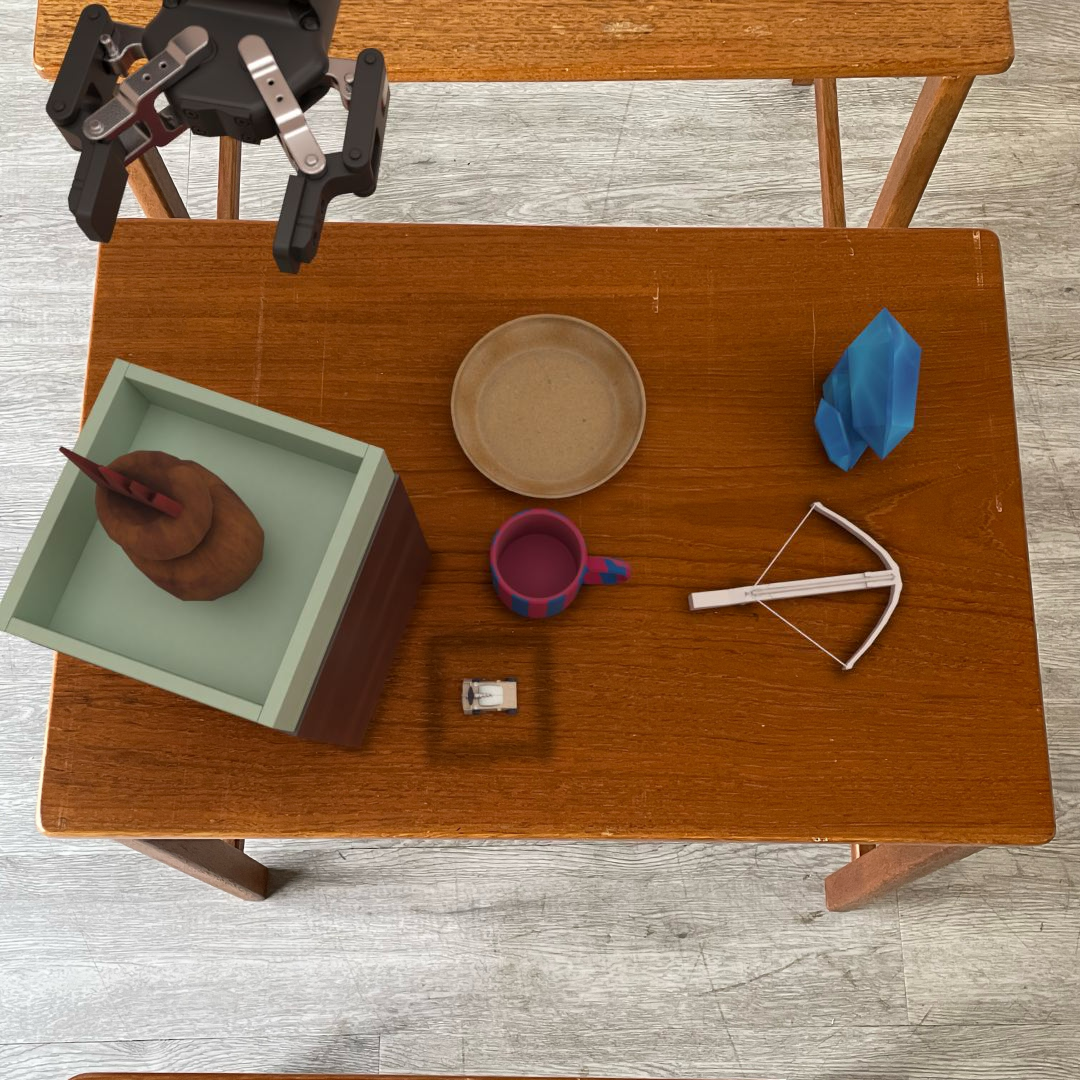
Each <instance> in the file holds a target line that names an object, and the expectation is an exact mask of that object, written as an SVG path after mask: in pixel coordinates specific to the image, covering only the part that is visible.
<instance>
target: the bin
mask: <svg viewBox="0 0 1080 1080" xmlns="http://www.w3.org/2000/svg"><path fill="white" fill-rule="evenodd" d="M102 384H103V385H102V386H101V389H100V391H99V393H98V395H97V398H96V399H95V402H94V404H93V406H92V408H91V410H90V412H89V414H88V416H87V418H86V421H85V422H84V425H83V426H82V429H81V431H80V433H79V435H78V437H77V440H76V443H75V444H74V446H73V448H72V450H71V451H73V452H75V453H77V454H79V455H80V456H82V457H84V458H86V459H88V460H90V461H92V462H94V463H96V464H98V465H103V466H105V467H106V466H108V465H109V464H110V463H111V462H113V461H114V460H115V459H117V458H118V457H119V456H122V455H125V454H128V453H131V452H134V451H138V450H147V451H162V452H165V453H167V454H170V455H173V456H175V457H178V458H179V459H180V460H192V461H194V462H196V463H199V464H200V465H202V466H203V467H205V468H206V469H208V470H209V471H211V472H213V473H214V474H216V475H217V476H218V477H219V478H221V479H222V480H223V481H224V482H225V483H226V484H227V485H228V486H229V487H230V488H231V489H232V490H233V491H234V492H235V493H236V494H237V495H238V496H239V497H240V498H241V499H242V501H243V502H244V503H245V504H246V505H247V507H248V508H249V509H250V510H251V511H252V513H253V514H254V516H255V518H256V519H257V521H258V523H259V524H260V526H261V528H262V529H263V531H264V537H265V539H264V548H263V558H262V561H261V562H260V564H259V565H258V567H257V568H256V570H255V572H254V573H253V575H252V576H251V578H250V579H249V580H247V581H246V582H245V583H244V584H243V585H242V586H241V587H240V588H239V589H238V590H237V591H235V592H232V593H230V594H228V595H225V596H223V597H221V598H218V599H216V600H214V601H182V600H180V599H178V598H176V597H175V596H173V595H171V594H170V593H168V592H166V591H165V590H163V589H161V588H160V587H158V586H157V585H155V584H154V583H153V582H152V581H151V580H150V579H149V578H148V577H146V576H145V575H144V574H143V573H142V572H141V571H140V570H139V569H138V568H137V567H135V565H134V564H133V563H132V561H131V560H130V559H129V557H128V556H127V555H126V553H125V552H124V551H123V549H122V547H121V546H119V545H118V544H117V543H115V542H114V541H113V540H111V539H110V538H109V536H108V535H107V533H106V531H105V530H104V528H103V526H102V525H101V523H100V521H99V519H98V515H97V511H96V506H95V494H96V485H97V484H96V483H95V482H94V481H93V480H92V479H90V478H89V477H88V476H87V475H86V474H85V473H84V472H82V471H81V470H80V469H79V468H78V467H77V466H76V465H75V464H74V463H72V462H71V461H70V460H69V459H68V458H67V461H66V463H65V465H64V467H63V469H62V472H61V474H60V475H59V478H58V479H57V482H56V484H55V487H54V488H53V490H52V493H51V495H50V496H49V498H48V501H47V504H46V505H45V507H44V509H43V512H42V513H41V516H40V518H39V520H38V523H37V524H36V526H35V528H34V531H33V533H32V535H31V537H30V539H29V541H28V543H27V546H26V547H25V550H24V552H23V554H22V556H21V558H20V560H19V562H18V565H17V567H16V570H15V571H14V573H13V575H12V578H11V580H10V582H9V584H8V586H7V588H6V590H5V591H4V592H5V593H4V594H3V596H2V598H1V601H0V632H3V633H6V634H9V635H12V636H14V637H17V638H20V639H23V640H26V641H28V642H30V641H31V642H30V643H32V642H34V643H33V644H35V643H37V644H36V645H38V644H39V645H38V646H40V645H42V646H41V647H43V646H45V647H44V648H46V647H48V648H47V649H49V648H51V649H53V650H52V651H54V650H56V651H55V652H57V651H59V652H58V653H60V652H62V653H61V654H63V653H65V654H67V655H66V656H68V655H70V656H69V657H71V656H73V657H72V658H74V657H76V658H75V659H77V658H78V659H77V660H79V659H81V660H80V661H82V660H84V661H83V662H85V661H87V662H86V663H88V662H90V663H89V664H91V663H92V664H91V665H93V664H95V665H94V666H96V665H98V666H97V667H99V666H101V667H100V668H102V667H104V668H106V669H105V670H107V669H109V670H108V671H110V670H112V671H111V672H113V671H115V672H114V673H116V672H117V673H116V674H118V673H120V674H119V675H121V674H123V675H122V676H124V675H126V676H125V677H127V676H129V677H128V678H130V677H131V678H130V679H132V678H134V679H133V680H135V679H137V680H136V681H138V680H140V681H139V682H141V681H143V682H145V683H144V684H146V683H148V684H147V685H149V684H151V685H150V686H152V685H154V686H153V687H155V686H156V687H155V688H157V687H159V688H158V689H160V688H162V689H161V690H163V689H165V690H164V691H166V690H168V691H167V692H169V691H170V692H169V693H171V692H173V693H172V694H174V693H176V694H175V695H177V694H179V695H178V696H180V695H182V696H184V697H183V698H185V697H187V698H186V699H188V698H190V699H189V700H191V699H193V700H192V701H194V700H195V701H194V702H196V701H198V702H197V703H199V702H201V703H200V704H202V703H204V704H203V705H205V704H207V705H206V706H208V705H209V706H208V707H210V706H212V707H211V708H213V707H215V708H214V709H216V708H218V709H217V710H219V709H221V710H223V711H222V712H224V711H226V712H225V713H227V712H229V713H228V714H230V713H232V714H231V715H233V714H234V715H233V716H235V715H237V716H236V717H238V716H240V717H239V718H241V717H243V718H242V719H244V718H246V719H245V720H247V719H248V720H247V721H249V720H251V721H250V722H252V721H254V722H253V723H255V722H257V723H256V724H258V723H259V724H258V725H260V724H262V725H261V726H263V725H265V726H264V727H266V726H268V727H267V728H269V727H271V728H270V729H272V728H275V729H280V730H285V731H291V732H293V731H294V730H295V727H296V725H297V722H298V720H299V717H300V715H301V712H302V710H303V707H304V705H305V702H306V700H307V697H308V695H309V692H310V689H311V687H312V684H313V682H314V679H315V677H316V674H317V672H318V669H319V667H320V664H321V662H322V659H323V657H324V654H325V652H326V649H327V646H328V644H329V641H330V639H331V636H332V634H333V631H334V629H335V626H336V624H337V621H338V619H339V616H340V614H341V611H342V608H343V606H344V603H345V601H346V598H347V596H348V593H349V591H350V588H351V586H352V583H353V581H354V578H355V576H356V573H357V571H358V568H359V565H360V563H361V560H362V558H363V555H364V553H365V550H366V548H367V545H368V543H369V540H370V538H371V535H372V533H373V530H374V527H375V525H376V522H377V520H378V517H379V515H380V512H381V510H382V507H383V505H384V502H385V500H386V497H387V495H388V492H389V490H390V487H391V484H392V482H393V479H394V473H393V472H394V470H393V467H392V465H391V463H390V461H389V459H388V456H387V453H386V451H385V449H384V448H382V447H379V446H375V445H373V444H369V443H367V442H364V441H361V440H358V439H355V438H352V437H349V436H346V435H343V434H340V433H337V432H334V431H332V430H329V429H325V428H323V427H320V426H317V425H314V424H311V423H308V422H305V421H302V420H299V419H297V418H295V417H290V416H288V415H285V414H282V413H279V412H276V411H272V410H270V409H268V408H264V407H261V406H258V405H255V404H253V403H251V402H246V401H243V400H241V399H239V398H235V397H232V396H229V395H226V394H223V393H220V392H217V391H214V390H211V389H208V388H205V387H203V386H200V385H197V384H194V383H191V382H188V381H186V380H182V379H179V378H176V377H174V376H170V375H167V374H165V373H162V372H158V371H156V370H152V369H150V368H147V367H144V366H141V365H139V364H135V363H132V362H129V361H127V360H123V359H120V358H115V359H114V361H113V363H112V366H111V368H110V370H109V372H108V373H107V376H106V377H105V380H104V382H103V383H102ZM51 649H50V650H51ZM65 654H64V655H65ZM104 668H103V669H104ZM143 682H142V683H143ZM182 696H181V697H182ZM221 710H220V711H221Z"/></svg>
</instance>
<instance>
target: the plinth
mask: <svg viewBox="0 0 1080 1080" xmlns="http://www.w3.org/2000/svg"><path fill="white" fill-rule="evenodd" d="M393 473H394V479H393V482H392V484H391V487H390V490H389V492H388V495H387V497H386V500H385V502H384V505H383V507H382V510H381V512H380V515H379V517H378V520H377V522H376V525H375V527H374V530H373V533H372V535H371V538H370V540H369V543H368V545H367V548H366V550H365V553H364V555H363V558H362V560H361V563H360V565H359V568H358V571H357V573H356V576H355V578H354V581H353V583H352V586H351V588H350V591H349V593H348V596H347V598H346V601H345V603H344V606H343V608H342V611H341V614H340V616H339V619H338V621H337V624H336V626H335V629H334V631H333V634H332V636H331V639H330V641H329V644H328V646H327V649H326V652H325V654H324V657H323V659H322V662H321V664H320V667H319V669H318V672H317V674H316V677H315V679H314V682H313V684H312V687H311V689H310V692H309V695H308V697H307V700H306V702H305V705H304V707H303V710H302V712H301V715H300V717H299V720H298V722H297V725H296V727H295V730H294V731H293V732H291V731H285V730H280V729H275V728H271V727H268V726H265V725H262V724H259V723H257V722H254V721H251V720H248V719H246V718H243V717H240V716H237V715H234V714H232V713H229V712H226V711H223V710H221V709H218V708H215V707H212V706H209V705H207V704H204V703H201V702H198V701H195V700H193V699H190V698H187V697H184V696H182V695H179V694H176V693H173V692H170V691H168V690H165V689H162V688H159V687H156V686H154V685H151V684H148V683H145V682H143V681H140V680H137V679H134V678H131V677H129V676H126V675H123V674H120V673H117V672H115V671H112V670H109V669H106V668H104V667H101V666H98V665H95V664H92V663H90V662H87V661H84V660H81V659H78V658H76V657H73V656H70V655H67V654H65V653H62V652H59V651H56V650H53V649H51V648H48V647H45V646H42V645H39V644H37V643H34V642H31V641H29V642H30V643H32V644H35V645H37V646H41V647H44V648H46V649H49V650H52V651H54V652H57V653H60V654H63V655H66V656H68V657H70V658H74V659H76V660H80V661H82V662H84V663H88V664H91V665H94V666H96V667H99V668H102V669H105V670H107V671H110V672H113V673H115V674H119V675H121V676H124V677H127V678H130V679H132V680H136V681H138V682H141V683H144V684H146V685H150V686H152V687H155V688H156V689H157V688H158V689H160V690H163V691H166V692H169V693H172V694H174V695H177V696H180V697H182V698H186V699H187V700H190V701H194V702H197V703H199V704H201V705H205V706H208V707H210V708H213V709H216V710H219V711H221V712H224V713H227V714H229V715H232V716H236V717H238V718H241V719H243V720H246V721H248V722H249V721H250V722H252V723H255V724H258V725H261V726H263V727H266V728H269V729H272V730H275V731H278V732H280V733H283V734H286V735H288V736H292V737H294V738H298V739H305V740H311V741H316V742H322V743H328V744H333V745H339V746H344V747H345V746H346V747H351V748H358V749H361V746H362V744H363V742H364V738H365V736H366V734H367V730H368V728H369V725H370V722H371V720H372V717H373V714H374V712H375V709H376V708H377V707H376V706H377V704H378V701H379V700H380V699H379V698H380V697H381V694H382V691H383V688H384V686H385V683H386V680H387V677H388V675H389V672H390V670H391V667H392V664H393V661H394V659H395V657H396V654H397V652H398V649H399V646H400V643H401V641H402V639H403V635H404V633H405V630H406V627H407V625H408V622H409V619H410V617H411V615H412V611H413V609H414V606H415V603H416V602H417V599H418V596H419V594H420V590H421V588H422V586H423V583H424V580H425V577H426V574H427V573H428V570H429V567H430V565H431V561H432V559H433V555H432V552H431V550H430V547H429V544H428V542H427V539H426V537H425V535H424V532H423V530H422V527H421V524H420V522H419V519H418V517H417V515H416V512H415V510H414V507H413V504H412V502H411V499H410V497H409V494H408V491H407V488H406V486H405V483H404V482H403V479H402V476H401V474H400V473H398V472H395V471H393Z"/></svg>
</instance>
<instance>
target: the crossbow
mask: <svg viewBox="0 0 1080 1080" xmlns="http://www.w3.org/2000/svg"><path fill="white" fill-rule="evenodd" d="M809 506H810V508H811V509H810V510H808V513H807V514H806V515H805V517H804V518H803V519H802V520H801V522H800V523H799V524H798V526H797V527H796V529H795V530H794V531H793V533H792V534H791V535H790V537H789V538H788V539H787V541H786V542H785V543H784V545H783V546H782V548H781V549H780V550H779V552H778V553H777V554H776V555H775V557H774V558H773V559H772V561H771V562H770V564H769V565H768V567H766V569H765V570H764V572H763V573H762V574H761V576H760V577H759V578H758V580H757V581H756V583H755V584H754V585H748V586H742V587H735V588H729V589H721V590H711V591H710V590H709V591H699V592H692V593H690V594H689V595H688V596H687V599H688V605H689V611H690V612H691V611H698V610H707V609H713V608H721V607H729V606H736V605H740V606H744V605H746V604H750V603H757V602H758V603H759V604H761V606H763V607H765V608H766V609H768V610H769V611H770V612H771V613H773V614H774V615H775V616H777V617H778V618H779V619H781V620H782V621H783V622H785V623H786V624H787V625H789V626H790V627H792V628H793V629H794V630H795V631H797V632H798V633H800V634H801V635H802V636H803V637H805V638H806V639H808V640H809V641H810V642H811V643H813V644H814V645H816V646H817V647H818V648H820V649H821V650H822V651H824V652H825V653H826V654H828V655H829V656H831V658H833V659H834V660H835V661H837V662H838V663H839V664H841V665H842V669H841V671H846V670H851V669H852V668H853V666H854V664H855V663H856V662H857V660H858V659H859V658H860V657H861V656H862V655H863V654H864V653H865V652H866V651H867V650H868V649H869V647H871V646H872V643H873V642H874V641H875V639H876V638H877V637H878V635H879V634H880V633H881V631H882V630H883V628H884V627H885V626H886V625H887V623H888V621H889V619H890V617H891V615H892V614H893V612H894V610H895V608H896V606H897V605H898V603H899V598H900V595H901V591H902V589H903V584H904V583H902V578H901V573H900V572H901V571H900V567H899V565H898V564H897V562H895V561H894V560H893V558H892V556H891V555H890V553H888V551H887V550H886V549H884V548H883V547H882V546H881V545H880V544H879V543H878V542H876V541H875V540H874V539H873V538H872V537H871V536H870V535H868V534H867V533H865V532H864V531H863V530H862V529H860V528H859V527H857V526H856V525H855V524H853V523H852V522H850V521H849V520H848V519H846V518H844V517H843V516H841V515H839V514H837V513H836V512H834V511H832V510H831V509H829V508H827V507H825V506H824V505H823V504H822V503H821V502H820V501H816V502H812V503H811V504H810V505H809ZM813 510H815V511H816V512H818V513H820V514H821V515H823V516H824V517H826V518H828V519H829V520H832V521H834V522H835V523H837V524H838V525H839V526H841V528H844V529H845V530H846V531H848V532H849V533H850V534H852V535H853V536H855V537H856V538H857V539H859V540H860V541H861V542H862V543H863V544H864V545H865V546H867V547H868V548H869V549H870V550H871V551H872V552H874V553H875V554H876V555H877V556H878V557H879V560H881V562H882V563H883V565H884V568H885V569H886V570H880V571H879V570H878V571H866V572H862V573H852V574H845V575H837V576H836V575H835V576H827V577H820V578H819V577H817V578H809V579H801V580H792V581H783V582H773V583H766V584H765V583H764V584H759V582H760V581H761V580H762V578H763V577H764V575H765V574H766V573H767V571H768V570H769V568H770V567H771V566H772V565H773V563H775V561H776V559H777V558H778V557H779V556H780V554H781V553H782V552H783V550H784V549H785V547H786V546H787V545H788V543H789V542H790V540H792V538H793V536H794V535H795V534H796V532H797V531H798V530H799V529H800V527H801V526H802V524H803V523H804V522H805V520H806V519H807V517H809V515H810V514H811V512H812V511H813ZM886 587H890V591H889V592H890V595H889V599H888V603H887V605H886V607H885V609H884V611H883V612H882V615H881V616H880V618H879V620H878V621H877V624H876V625H875V627H874V628H873V629H872V631H871V632H870V633H869V635H868V636H867V637H866V639H865V640H864V641H863V643H862V644H861V646H860V647H859V648H858V649H857V650H856V652H854V653H853V655H852V656H851V657H850V658H849V659H848V660H847V661H846V663H844V662H842V661H841V660H839V659H838V658H837V657H836V656H834V655H833V654H831V652H829V651H827V650H826V649H825V648H823V647H822V646H821V645H820V644H819V643H817V642H815V641H814V640H813V639H811V638H810V637H809V636H807V635H806V634H805V633H804V632H803V631H800V630H799V629H798V628H797V627H796V626H794V625H793V624H791V623H790V622H789V621H788V620H786V619H785V618H783V617H782V616H780V615H779V614H778V613H777V612H776V611H774V610H773V609H771V608H770V607H769V606H768V605H766V604H765V603H763V602H768V601H774V600H784V599H792V598H800V597H809V596H817V595H826V594H834V593H843V592H850V591H851V592H853V591H861V590H869V589H877V588H886Z"/></svg>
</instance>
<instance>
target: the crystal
mask: <svg viewBox="0 0 1080 1080" xmlns="http://www.w3.org/2000/svg"><path fill="white" fill-rule="evenodd" d="M897 320H898V319H896V318H895V317H894V316H893V314H892V313H890V311H889V310H888V309H887V308H886V306H884V307H883V308H882V309H881V310H880V311H879V313H877V315H876V316H875V317H874V318H873V319H872V320H871V321H870V323H869V324H868V325H866V327H865V328H864V329H863V330H862V331H861V332H860V333H859V334H858V336H857V337H856V338H855V339H854V340H853V341H852V342H851V344H849V346H848V347H847V348H846V349H844V352H843V353H842V354H841V356H840V358H839V359H838V360H837V362H836V363H835V365H834V367H833V368H832V370H831V372H829V375H828V376H827V378H826V379H825V381H824V382H823V384H822V394H823V395H822V396H823V397H821V398H820V402H819V405H818V407H817V411H816V414H815V417H814V421H813V424H814V425H815V428H816V430H817V432H818V436H819V437H820V440H821V442H822V445H823V447H824V449H825V452H826V454H827V457H828V459H829V461H830V462H831V463H832V464H834V465H836V466H837V467H838V468H839V469H842V470H843V471H845V473H846V472H848V469H849V470H852V469H853V467H854V466H855V465H856V463H857V462H858V460H859V459H860V457H861V456H863V455H862V454H863V453H864V452H865V450H866V449H867V448H868V447H869V448H870V449H871V450H872V451H873V452H874V453H875V454H876V455H877V456H878V457H879V458H880V460H882V461H883V460H884V459H885V458H886V457H887V456H888V455H889V454H890V453H891V452H892V451H893V450H894V449H895V448H896V447H897V446H898V445H899V443H901V441H902V440H904V438H905V437H906V436H907V435H908V434H909V433H910V432H911V431H912V430H913V429H914V425H915V424H914V423H915V414H916V406H917V405H916V404H917V396H918V386H919V376H920V367H921V356H922V347H921V346H920V345H919V344H918V343H917V342H916V340H915V339H914V338H913V337H912V336H911V335H910V334H909V332H908V331H906V330H905V328H904V327H903V326H902V325H901V323H900V322H898V321H897Z"/></svg>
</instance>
